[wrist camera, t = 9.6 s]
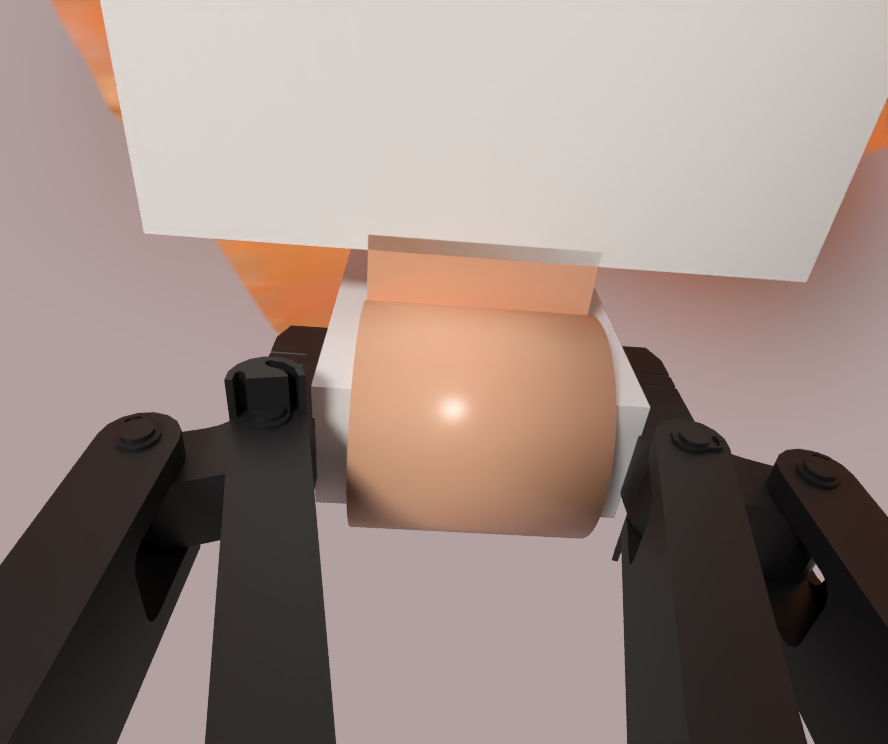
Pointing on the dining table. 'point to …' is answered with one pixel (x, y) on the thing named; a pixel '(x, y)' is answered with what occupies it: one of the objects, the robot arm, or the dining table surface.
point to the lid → (498, 198)
